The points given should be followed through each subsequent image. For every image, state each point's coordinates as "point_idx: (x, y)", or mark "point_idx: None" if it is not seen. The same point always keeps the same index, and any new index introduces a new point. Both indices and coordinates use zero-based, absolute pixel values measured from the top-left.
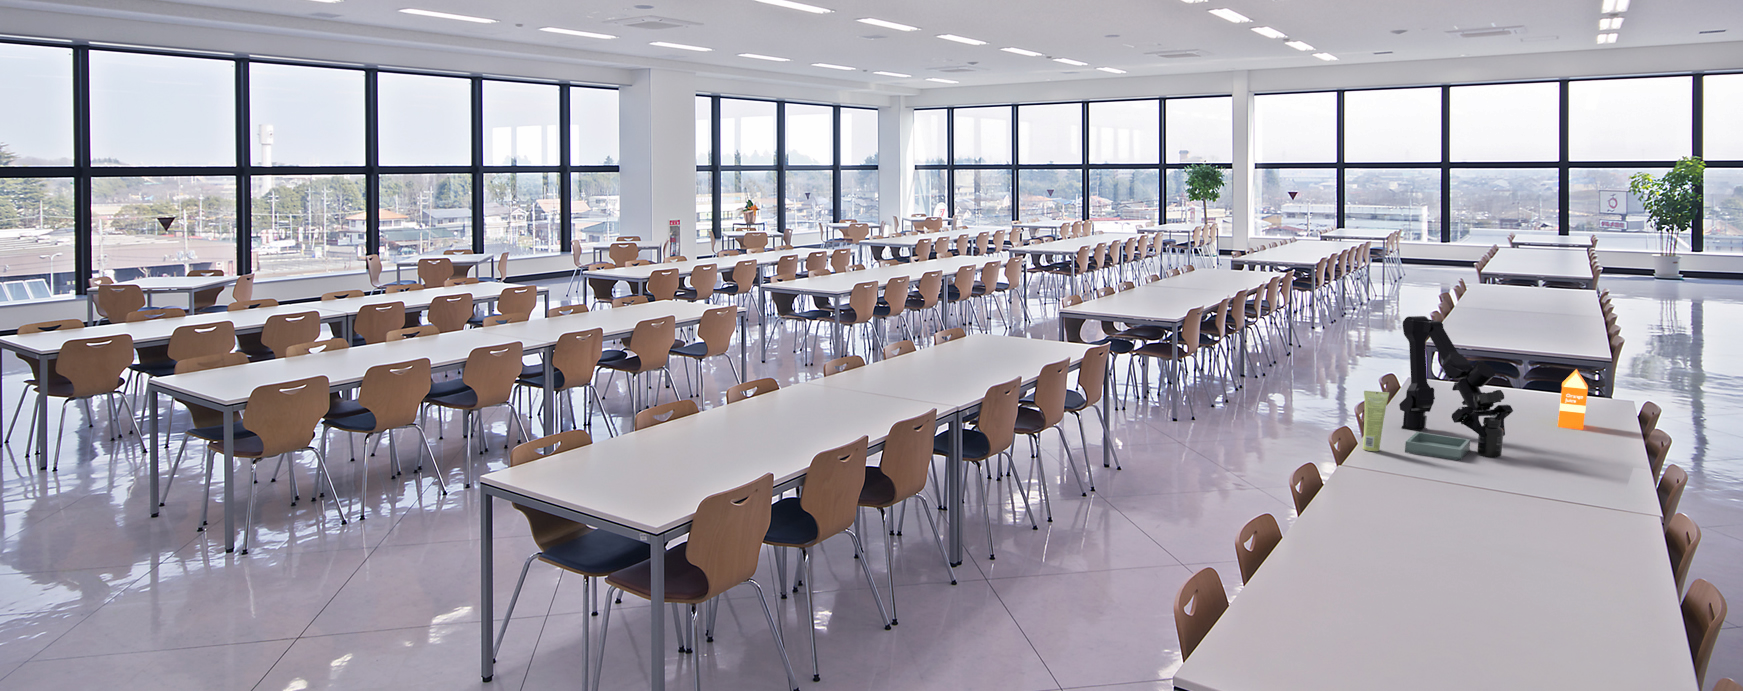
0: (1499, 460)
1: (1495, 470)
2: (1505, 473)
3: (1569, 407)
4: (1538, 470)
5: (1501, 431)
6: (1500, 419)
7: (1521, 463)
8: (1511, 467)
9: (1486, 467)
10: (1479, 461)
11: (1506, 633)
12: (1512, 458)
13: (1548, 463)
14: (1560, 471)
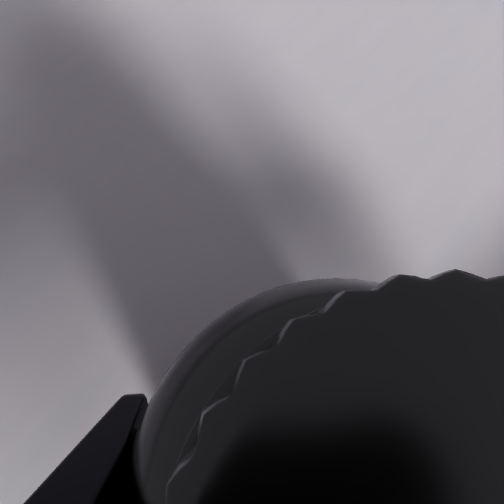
0: (303, 277)
1: (471, 90)
2: (444, 42)
3: None
4: (212, 59)
5: (272, 290)
6: (214, 415)
7: (197, 190)
8: (333, 125)
9: (496, 145)
10: (474, 273)
11: None
12: (157, 316)
13: (7, 166)
14: (100, 31)
